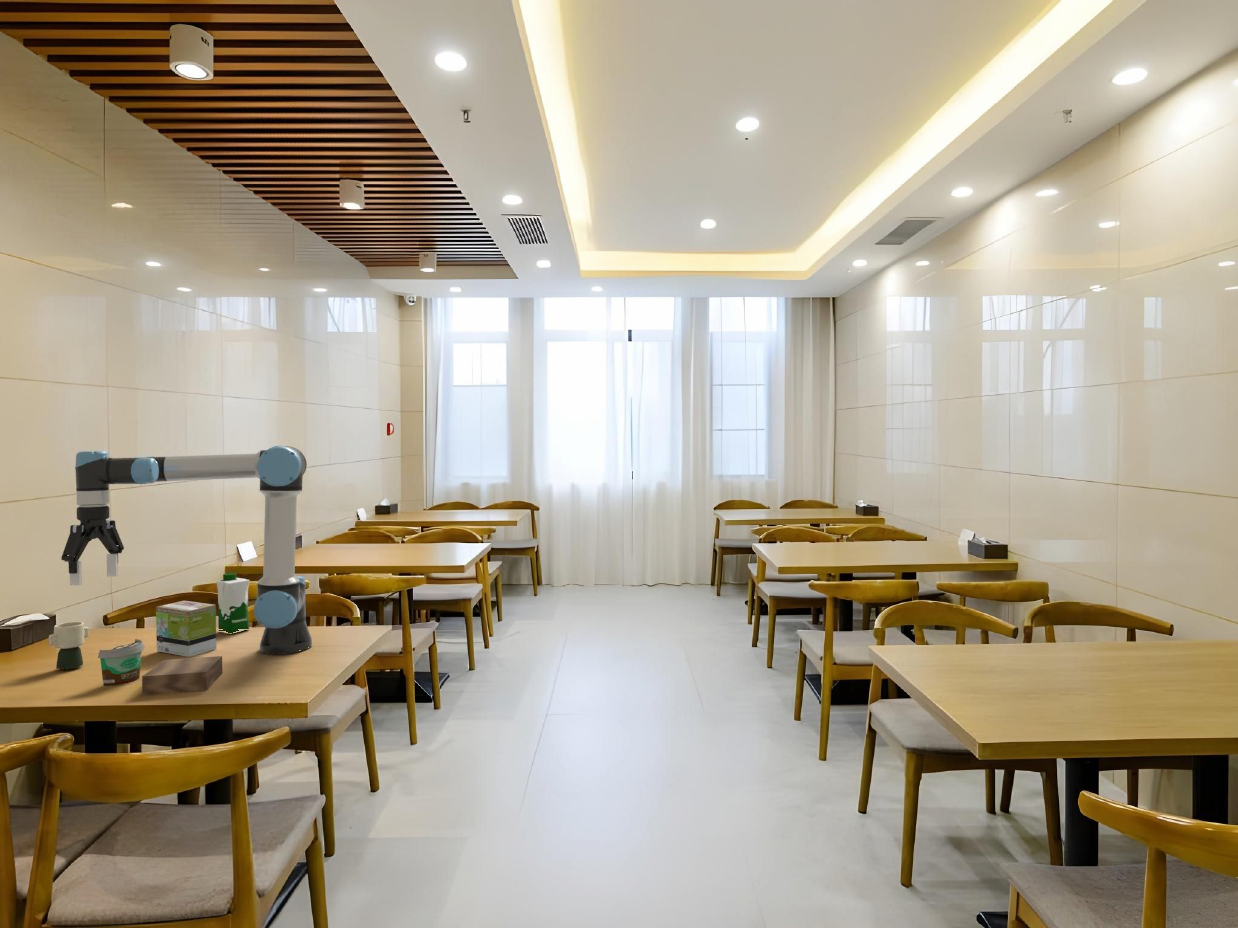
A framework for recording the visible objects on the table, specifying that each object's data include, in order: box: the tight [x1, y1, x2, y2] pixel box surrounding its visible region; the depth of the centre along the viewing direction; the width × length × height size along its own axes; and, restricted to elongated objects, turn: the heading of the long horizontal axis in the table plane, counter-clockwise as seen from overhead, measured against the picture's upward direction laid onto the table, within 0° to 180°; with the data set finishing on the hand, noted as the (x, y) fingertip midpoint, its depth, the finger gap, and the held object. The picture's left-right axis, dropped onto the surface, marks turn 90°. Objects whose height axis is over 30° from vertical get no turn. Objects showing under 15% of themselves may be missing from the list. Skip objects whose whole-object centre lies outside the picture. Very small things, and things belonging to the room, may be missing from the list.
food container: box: [97, 638, 145, 687], centre depth 200 cm, size 12×6×10 cm, turn 168°
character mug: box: [48, 621, 90, 671], centre depth 211 cm, size 11×7×13 cm, turn 161°
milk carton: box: [215, 572, 251, 633], centre depth 254 cm, size 9×9×20 cm
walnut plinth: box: [141, 655, 223, 696], centre depth 197 cm, size 15×15×5 cm
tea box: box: [155, 600, 217, 658], centre depth 229 cm, size 15×10×15 cm
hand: (94, 580), depth 205 cm, fingers open, 13 cm apart
